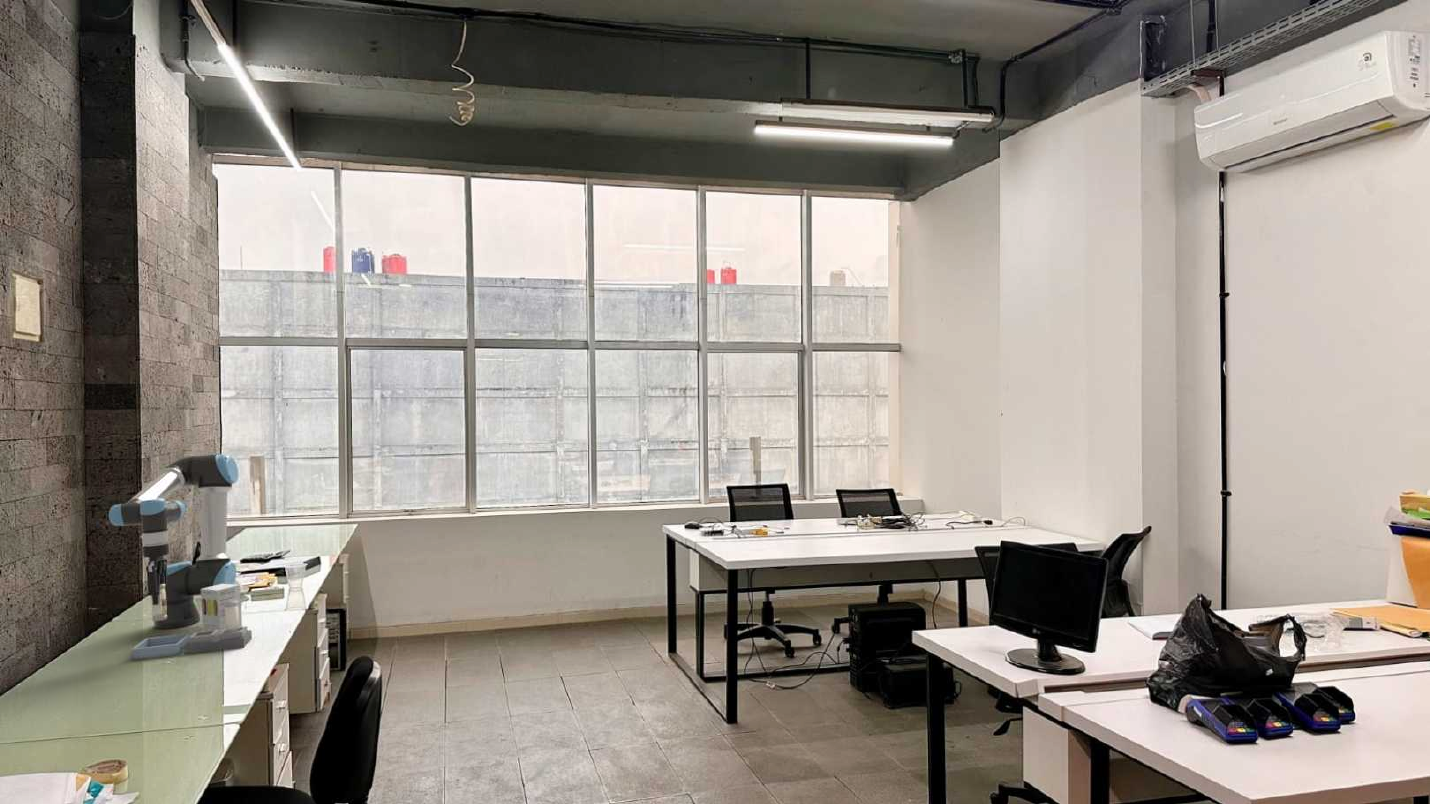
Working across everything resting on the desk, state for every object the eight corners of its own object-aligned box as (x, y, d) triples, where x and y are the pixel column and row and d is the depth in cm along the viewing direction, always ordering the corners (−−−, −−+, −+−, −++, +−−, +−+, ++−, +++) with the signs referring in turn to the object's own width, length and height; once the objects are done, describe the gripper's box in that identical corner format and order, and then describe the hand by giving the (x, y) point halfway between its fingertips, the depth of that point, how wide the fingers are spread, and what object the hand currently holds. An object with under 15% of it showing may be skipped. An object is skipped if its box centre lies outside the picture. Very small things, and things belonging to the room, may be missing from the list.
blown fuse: (155, 618, 300) (153, 584, 300) (169, 617, 301) (166, 582, 301) (150, 621, 296) (148, 586, 296) (164, 620, 297) (162, 585, 297)
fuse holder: (194, 645, 305) (192, 602, 304) (251, 638, 310) (249, 596, 309) (185, 654, 294) (182, 610, 294) (244, 647, 299) (241, 603, 299)
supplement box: (202, 634, 319) (199, 588, 318) (224, 627, 327) (222, 583, 327) (220, 636, 315) (217, 590, 315) (243, 629, 324) (240, 584, 323)
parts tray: (146, 648, 304) (145, 638, 304) (191, 643, 308) (190, 633, 308) (131, 660, 290) (130, 649, 290) (178, 654, 294) (178, 644, 294)
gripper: (151, 541, 305) (155, 607, 306) (133, 549, 289) (138, 619, 289) (175, 539, 307) (179, 605, 308) (159, 547, 291) (163, 616, 291)
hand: (159, 612), depth 298 cm, fingers closed on blown fuse, 4 cm apart
